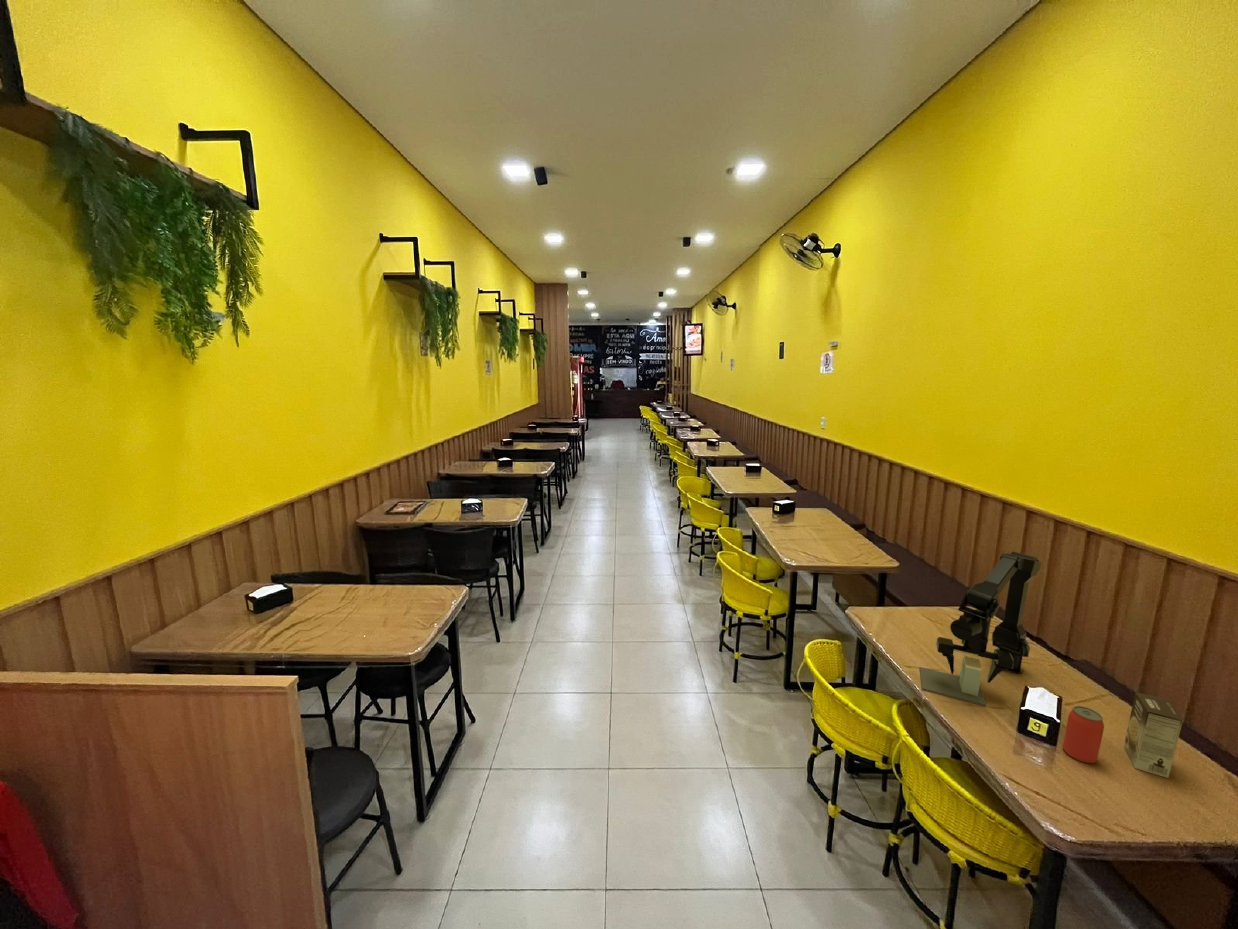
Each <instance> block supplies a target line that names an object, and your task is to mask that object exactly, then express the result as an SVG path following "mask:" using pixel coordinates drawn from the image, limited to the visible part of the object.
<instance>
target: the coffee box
mask: <svg viewBox="0 0 1238 929" xmlns="http://www.w3.org/2000/svg"><path fill="white" fill-rule="evenodd" d="M1183 722H1184V720H1183V718H1182V717H1181V715H1180V714H1179V712H1178V710H1177V709H1176V708H1175V707H1174V705H1173V703H1172V701H1170V700H1169V699H1165V698H1162V697H1158V696H1154V695H1150V694H1145V693H1141V692H1135V693H1134V697H1133V701H1132V706H1131V710H1130V714H1129V720H1128V724H1127V725H1128V726H1127V730H1126V734H1125V739H1124V742H1123V747H1124V750H1125V751H1126V754H1127V756H1128V758H1129V760H1130V761H1131V764H1132V766H1133V768H1135V769H1137V770H1140V771H1143V772H1146V773H1150V774H1153V775H1157V776H1159V777H1162V778H1163V777H1164V778H1167V779H1169V776H1170V774H1171V769H1172V765H1173V761H1174V757H1175V753H1176V749H1177V745H1178V740H1179V737H1180V735H1181V734H1180V733H1181V729H1182V726H1183Z"/></svg>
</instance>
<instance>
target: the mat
mask: <svg viewBox="0 0 1238 929" xmlns="http://www.w3.org/2000/svg"><path fill="white" fill-rule="evenodd" d="M919 676H920V684H921V690H923V691H924V692H928V693H933V694H937V695H940V696H944V697H948V698H953V699H956V700H960V701H963V702H966V703H967V702H968V703H971V704H975V705H979V706H983V707H986V705H987V704H986V701H985V697H984V694H983V691H982V688H981V685H979V692H978V696H975V695H971V694H967V693H963V692H962V691H961V687H960V683H959V680H960V675H959V676H958V675H955V674H951V673H948V672H943V671H940V670H934V669H930V668H927V667H922V666H919Z"/></svg>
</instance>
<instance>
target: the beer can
mask: <svg viewBox="0 0 1238 929" xmlns="http://www.w3.org/2000/svg"><path fill="white" fill-rule="evenodd" d="M1103 719H1104V718H1103V716H1102V715H1101V714H1100V713H1099V712H1097V711H1096V710H1094V709H1091V708H1090V707H1087V706H1081V705H1075V706H1073V707H1072V709H1071V711H1070V712H1069V713H1068V716H1067V722H1066V727H1065V732H1064V737H1063V742H1062V748H1063V750H1064V752H1065V753H1066V754H1068V755H1069V757H1071V758H1073V759H1074V760H1077V761H1080V762H1081V763H1087V764H1094V763H1097V760H1098V759H1099V754H1100V750H1101V744H1102V739H1103V736H1104V735H1103V734H1104V730H1105V724H1104V720H1103Z"/></svg>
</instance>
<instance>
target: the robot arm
mask: <svg viewBox="0 0 1238 929" xmlns="http://www.w3.org/2000/svg"><path fill="white" fill-rule="evenodd" d="M1041 566H1042V562H1040V560H1039V559H1038V558H1037V556H1032V555H1029V554H1025V553H1021V552H1018V551H1012V552H1010V553H1007V552H1002V554H1001V555H1000V557H999V561H998V562H997V563H996V565H995V566H994V567H993V568H992V570H991V571H990V572H989V574H988V575H987V577H985V579H984V580H983V581H982V582H979V583H976V584H974V585H973V586H972V587H970V589H969V590H967V591H966V593H965V594H964V596H963V598H962V600H961V603H960V605H959V607H958V609H957V610H958V611H959V612H960V613H961V612H962V615H960V616H959V618H957V619H955V620H953V621H952V622H951V624H950V626H949V627H950V628H949V629H950V632H951V633H952V635H953V636H954V637H955V638H957V639H958V640H960V641H961V642H960V643H961V644H962V645H960V644H956V643H955V644H954V642H953V639H951V638H946V637H941V636H939V637H937V639H936V642H935V644H936V649H937V652H938V653H940V654H941V656H943V657H946V659H947V661H948V664H949V668H950V669H949V670H950V674H952V675H954V669H955V666H954V664H955V655H954V652H959V653H963V654H967V655H970V656H971V655H972V656H975V657H981V658H985V659H989V660H991V661H990V662H991V664H990V666H989V667H990V668H989V671H988V673H987V680H986V682H987V683H988V684H990V683H991V682H992V681H993V680H994V679H995V678H996V677H997V676H998V675H999V674H1001V672H1003V671H1006V672H1011V673H1016V674H1019V675H1020V674H1021V675H1022V673H1023V672H1022V670H1021V667H1022V662H1023V658H1024V657H1025V658H1029V654H1030V650H1031V646H1030V645H1029V643H1028V640H1027V632H1026V631H1027V630H1025V627H1024V626H1023V624H1022V622H1023V618H1024V617H1023V616H1024V611H1025V606H1026V605H1025V604H1026V601H1027V594H1028V588H1029V582H1030V581H1031V580H1033V579H1034V578H1036V577H1037V575H1038V573H1039V571H1040V570H1041ZM1007 584H1008V588H1007V595H1006V601H1005V607H1004V613H1003V619H1002V621H1001V622H1000V623H999V624H997V625H996V626H995V627H994V630H993V632H992V635H991V639H992V640H991V641H992V646H993V647H996V648H995V649H994V650H993V652H992V651H987V648H988V643H989V635H990V628H991V621H992V619H994V617H995V616H996V614H997V612H998V610H999V609H1000V607H1001V604H1000V596H999V595H1000V594H1001V593H1002V591H1003V590H1004V588H1005V587H1006V586H1007Z"/></svg>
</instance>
